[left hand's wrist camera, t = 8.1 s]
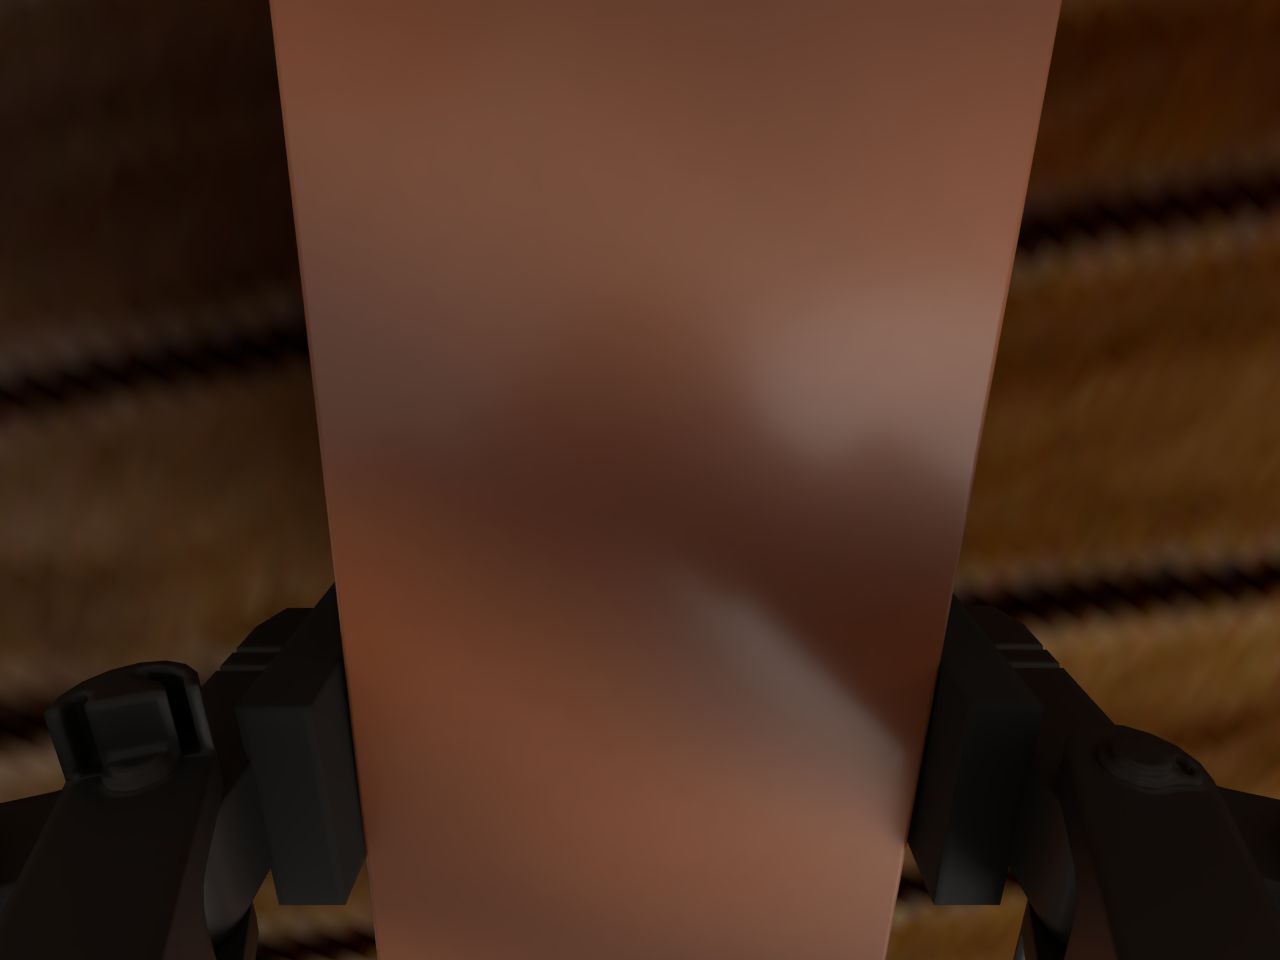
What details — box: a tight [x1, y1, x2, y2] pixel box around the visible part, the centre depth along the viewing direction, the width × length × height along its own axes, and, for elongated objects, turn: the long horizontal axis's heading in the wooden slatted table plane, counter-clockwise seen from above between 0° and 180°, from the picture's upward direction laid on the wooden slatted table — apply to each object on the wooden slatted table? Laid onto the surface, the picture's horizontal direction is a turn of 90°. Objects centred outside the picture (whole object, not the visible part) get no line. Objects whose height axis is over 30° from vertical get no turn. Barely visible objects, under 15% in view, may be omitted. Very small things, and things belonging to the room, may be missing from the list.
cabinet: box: [269, 0, 1062, 960], centre depth 12 cm, size 17×7×9 cm, turn 178°
